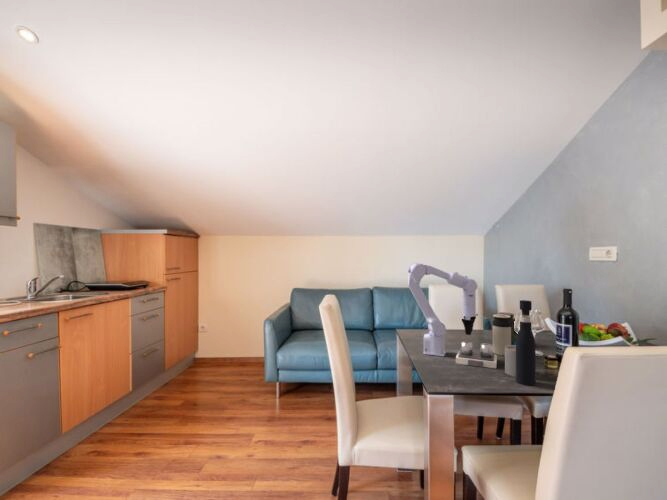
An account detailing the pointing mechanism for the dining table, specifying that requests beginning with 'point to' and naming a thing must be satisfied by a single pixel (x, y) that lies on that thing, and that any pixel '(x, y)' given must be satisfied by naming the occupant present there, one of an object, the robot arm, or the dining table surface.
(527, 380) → the black water bottle
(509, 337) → the travel mug
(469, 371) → the dining table surface
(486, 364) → the cream u-shaped bracket
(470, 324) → the robot arm
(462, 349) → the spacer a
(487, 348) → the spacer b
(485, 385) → the dining table surface
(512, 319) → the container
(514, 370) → the grey upright block
